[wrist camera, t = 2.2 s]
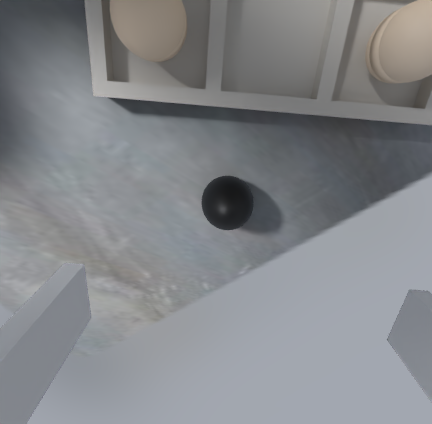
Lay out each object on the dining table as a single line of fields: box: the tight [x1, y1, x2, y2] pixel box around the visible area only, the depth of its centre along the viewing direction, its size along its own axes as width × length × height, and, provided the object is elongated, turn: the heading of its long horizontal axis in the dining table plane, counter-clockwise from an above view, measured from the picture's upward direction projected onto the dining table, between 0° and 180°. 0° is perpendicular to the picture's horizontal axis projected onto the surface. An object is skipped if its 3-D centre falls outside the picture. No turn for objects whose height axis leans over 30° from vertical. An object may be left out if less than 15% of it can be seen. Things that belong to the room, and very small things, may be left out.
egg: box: [202, 176, 253, 230], centre depth 20 cm, size 4×4×5 cm
